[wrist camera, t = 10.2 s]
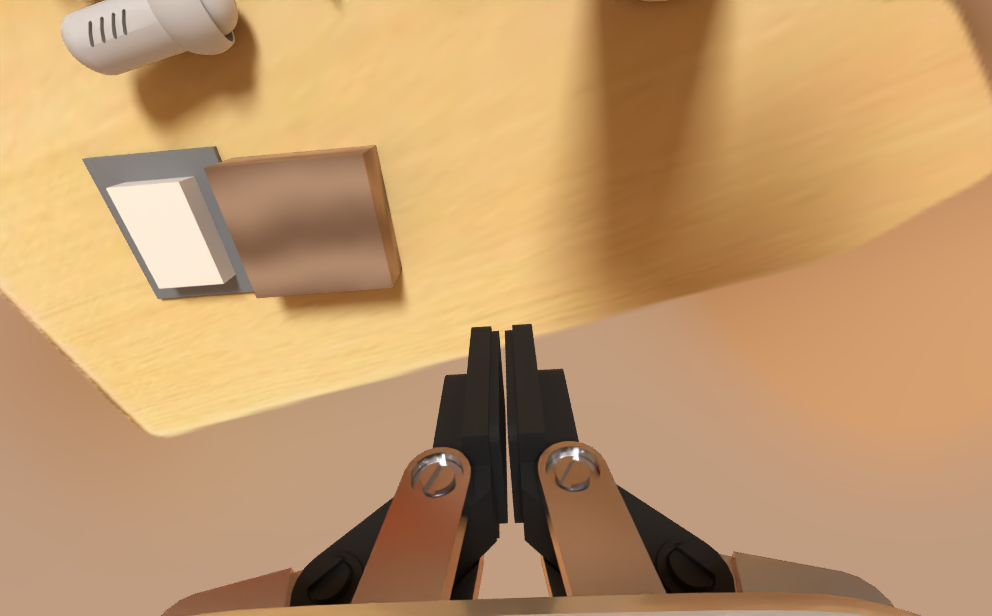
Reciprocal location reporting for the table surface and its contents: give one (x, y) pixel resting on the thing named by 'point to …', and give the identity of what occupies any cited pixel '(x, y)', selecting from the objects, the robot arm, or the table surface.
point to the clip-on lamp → (147, 31)
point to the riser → (309, 220)
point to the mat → (165, 167)
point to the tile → (173, 231)
